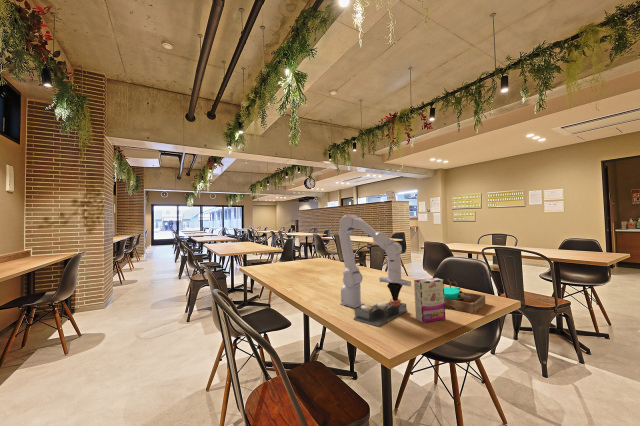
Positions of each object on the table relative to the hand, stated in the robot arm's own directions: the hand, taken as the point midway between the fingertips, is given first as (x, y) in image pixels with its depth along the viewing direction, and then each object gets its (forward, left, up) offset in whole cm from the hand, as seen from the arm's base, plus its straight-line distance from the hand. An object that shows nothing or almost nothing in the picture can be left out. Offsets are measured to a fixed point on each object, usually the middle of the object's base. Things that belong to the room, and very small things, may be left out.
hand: (395, 300), depth 121 cm
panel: (-3, -7, -5) cm, 9 cm away
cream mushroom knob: (-6, -14, -4) cm, 16 cm away
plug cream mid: (-3, -7, -4) cm, 9 cm away
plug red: (0, 0, -4) cm, 4 cm away
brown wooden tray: (+16, +29, -5) cm, 34 cm away
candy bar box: (+15, +1, -6) cm, 16 cm away
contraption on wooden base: (+16, +28, -6) cm, 33 cm away
